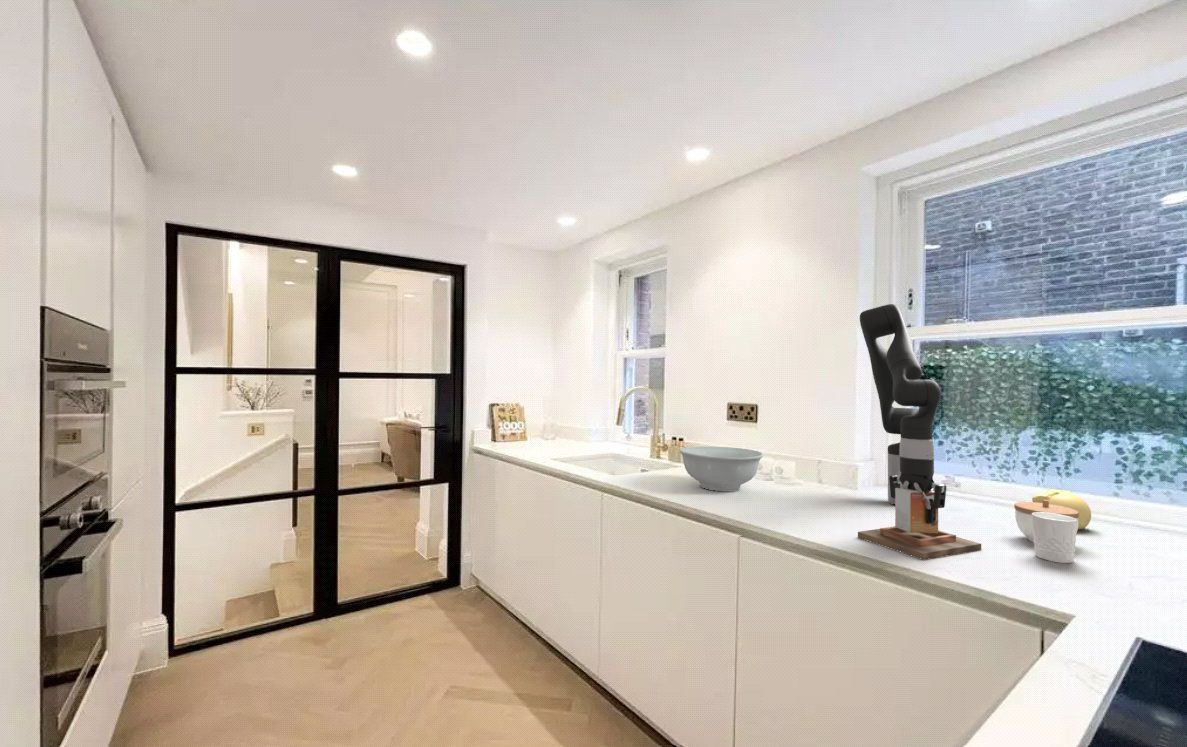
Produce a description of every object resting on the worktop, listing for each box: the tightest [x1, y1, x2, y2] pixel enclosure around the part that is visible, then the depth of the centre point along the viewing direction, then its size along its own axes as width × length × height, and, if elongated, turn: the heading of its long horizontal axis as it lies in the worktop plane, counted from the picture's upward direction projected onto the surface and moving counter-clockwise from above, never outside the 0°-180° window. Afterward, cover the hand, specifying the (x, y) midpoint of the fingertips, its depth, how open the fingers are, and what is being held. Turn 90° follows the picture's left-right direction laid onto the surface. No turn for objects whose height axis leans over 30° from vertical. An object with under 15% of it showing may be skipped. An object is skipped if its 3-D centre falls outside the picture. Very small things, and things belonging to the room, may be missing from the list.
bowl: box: [679, 446, 764, 492], centre depth 195 cm, size 32×32×15 cm
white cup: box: [1032, 512, 1077, 564], centre depth 118 cm, size 8×8×10 cm
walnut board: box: [857, 525, 982, 560], centre depth 128 cm, size 21×18×3 cm
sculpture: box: [1031, 488, 1092, 530], centre depth 144 cm, size 12×12×11 cm
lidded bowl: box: [1013, 500, 1079, 543], centre depth 130 cm, size 13×13×11 cm
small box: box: [894, 488, 939, 533], centre depth 128 cm, size 8×6×10 cm
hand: (916, 519), depth 128 cm, fingers closed on small box, 6 cm apart
